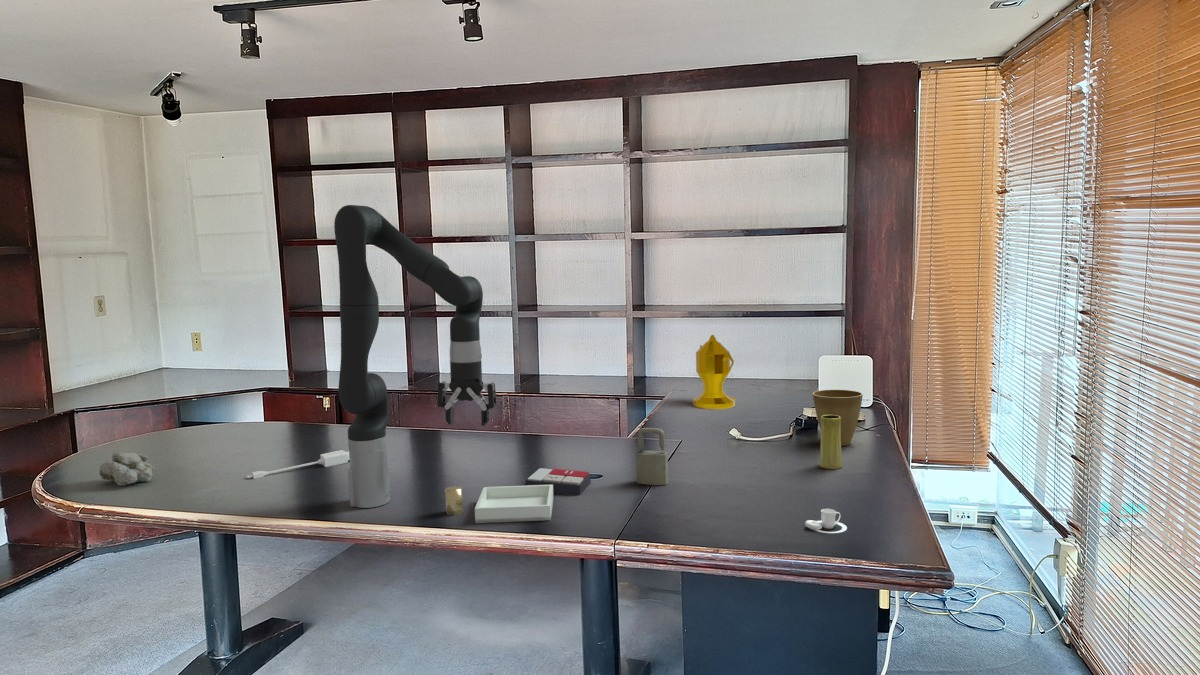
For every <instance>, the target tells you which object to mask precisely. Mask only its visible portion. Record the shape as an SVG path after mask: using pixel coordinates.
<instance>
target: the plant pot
mask: <svg viewBox="0 0 1200 675" xmlns="http://www.w3.org/2000/svg"><path fill="white" fill-rule="evenodd" d="M812 397H813V405H814V409H815V414H816V419H817V423H818V427H819V429H820V430H821V416H823V415H838V416H840V417H841V447H844V446H845V447H846V446H849V445H850V444H851V442H852V440H853V438H854V436H855V435H854V434H855V431H856V429H857V426H858V420H859V418H860V413H861V408H862V402H863V392H860V391H856V390H851V389H849V390H848V389H824V390H823V389H822V390H816V391H813V392H812Z"/></svg>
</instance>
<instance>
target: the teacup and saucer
mask: <svg viewBox="0 0 1200 675" xmlns="http://www.w3.org/2000/svg"><path fill="white" fill-rule="evenodd" d="M837 514H838V515H839V517H838V519H837V520H836V517H837V516H836V515H837ZM820 517H821V520H811V519H808V520H806V521H805V522H804V524H805V527H806V528H808V529H811V530H813V531H814V532H818V533H822V534H841V533H844V532H846V531H847V530H848V527H847V525H845V524H844V523H842V522H840V519H841V513H840V512H839V511H836V510H835V509H833V508H823V509H820ZM836 525H837V526H840V527H841V529H840V530H836V531H824V530H822V529H823V528H824V529H829V530H831V529H834V527H835V526H836Z"/></svg>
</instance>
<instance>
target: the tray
mask: <svg viewBox="0 0 1200 675" xmlns="http://www.w3.org/2000/svg"><path fill="white" fill-rule="evenodd" d="M553 504H554V494H553V485H528V486H526V485H510V486H509V485H508V486H507V485H506V486H505V485H504V486H503V485H500V486H484V487H483V488H482V490H481V493H480V495H479V498H478V501H477V502H476V504H475V507H474V520H475V524H481V523H482V524H485V523H487V524H488V523H490V524H491V523H510V522H511V523H512V522H515V523H516V522H517V523H518V522H534V521H535V522H538V521H552V515H553V514H552V513H553V507H554V506H553Z"/></svg>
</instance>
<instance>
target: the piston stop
mask: <svg viewBox="0 0 1200 675" xmlns="http://www.w3.org/2000/svg"><path fill="white" fill-rule="evenodd" d="M444 493H445V508H446V515H448V516H457V515H458V514H459V515H461V514H463V513H464V507H463V506H464V504H463V502H464V501H463V487H462V486H460V485H453V486H448V487H446V488H445V489H444Z"/></svg>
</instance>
